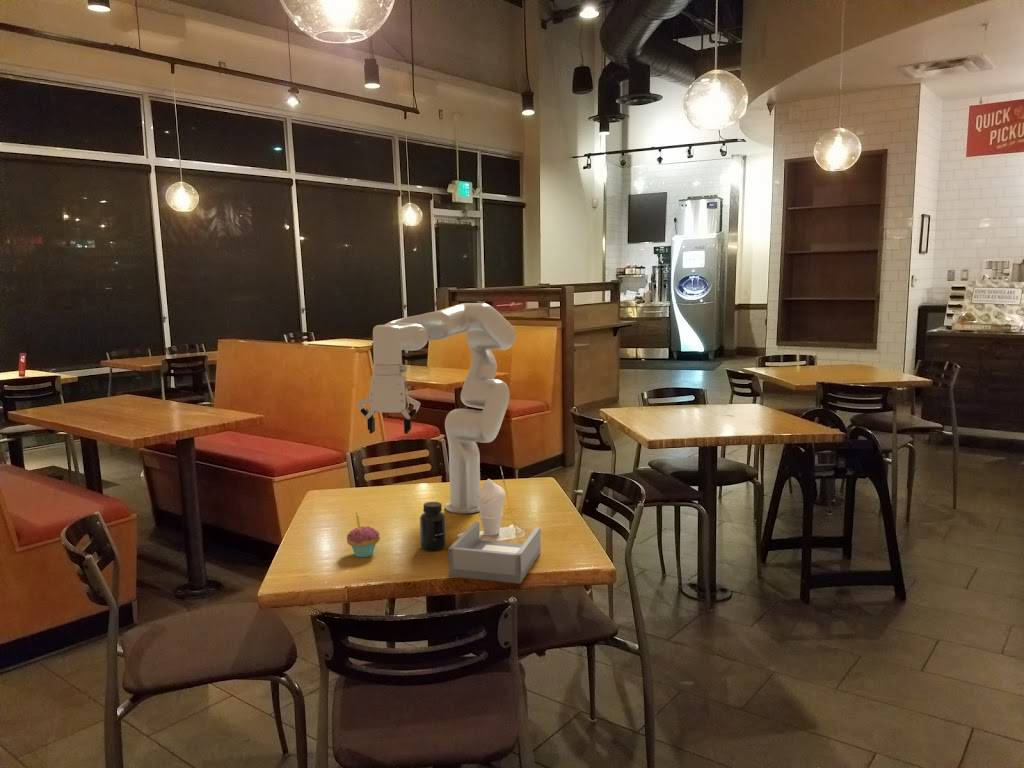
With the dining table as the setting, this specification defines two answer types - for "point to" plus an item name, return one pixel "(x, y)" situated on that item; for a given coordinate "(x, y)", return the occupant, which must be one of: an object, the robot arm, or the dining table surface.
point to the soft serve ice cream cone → (491, 507)
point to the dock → (492, 557)
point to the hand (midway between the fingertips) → (389, 432)
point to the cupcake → (363, 540)
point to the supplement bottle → (432, 527)
